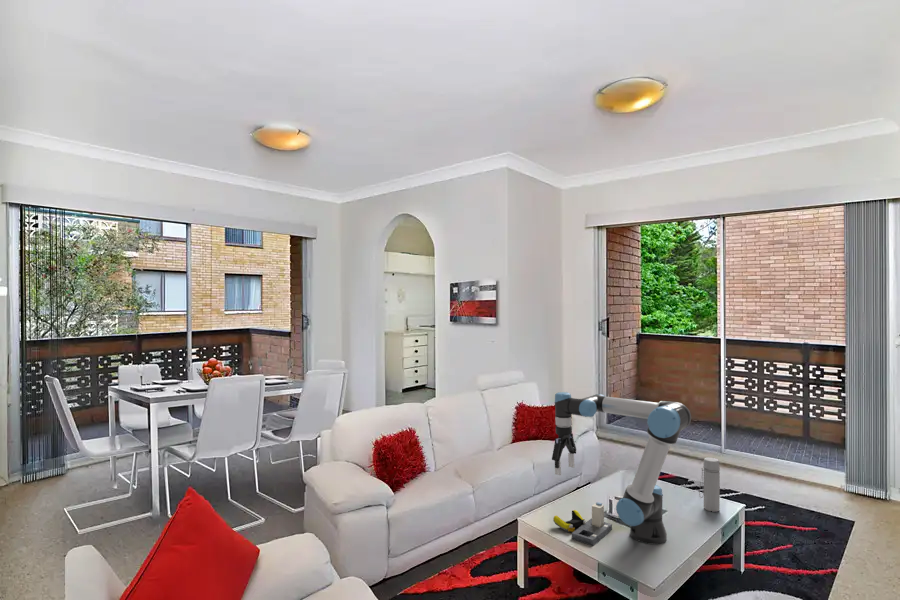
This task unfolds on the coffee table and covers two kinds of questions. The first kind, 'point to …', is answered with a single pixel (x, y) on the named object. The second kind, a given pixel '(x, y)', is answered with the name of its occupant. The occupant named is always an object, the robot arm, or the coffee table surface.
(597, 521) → the plug
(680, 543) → the coffee table surface
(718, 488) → the water bottle
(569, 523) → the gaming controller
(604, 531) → the panel
